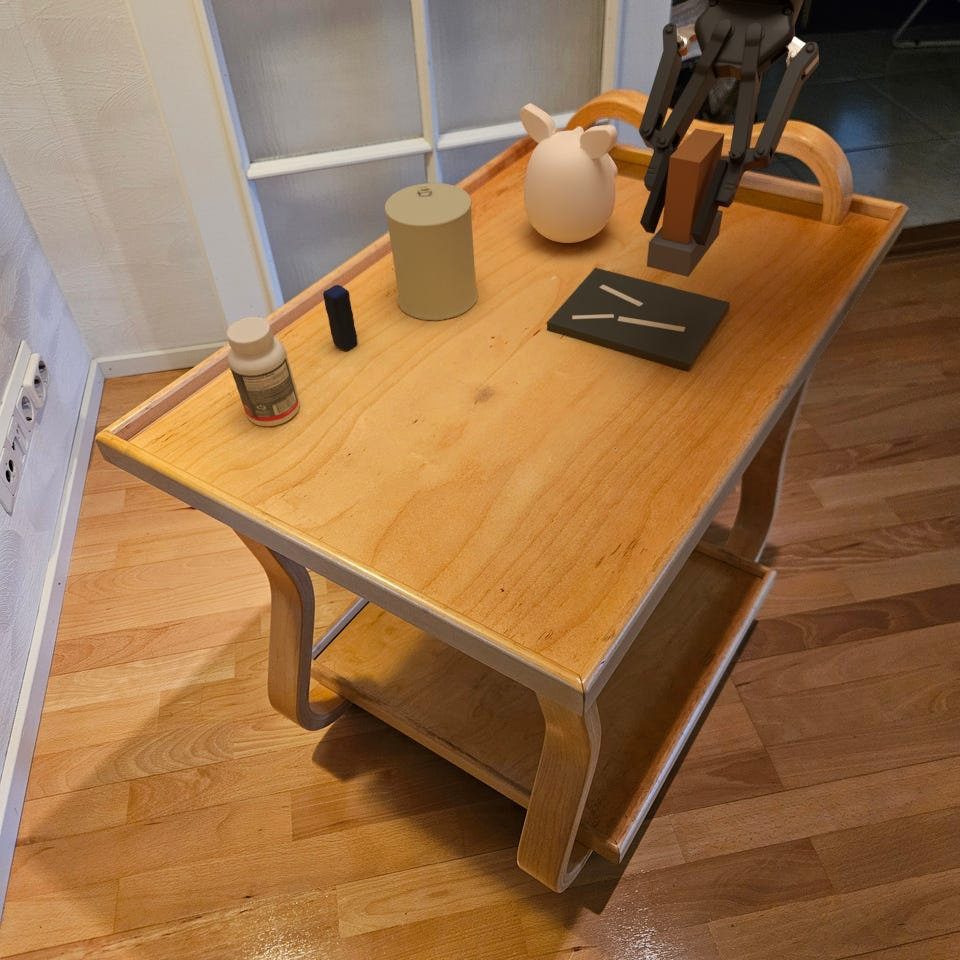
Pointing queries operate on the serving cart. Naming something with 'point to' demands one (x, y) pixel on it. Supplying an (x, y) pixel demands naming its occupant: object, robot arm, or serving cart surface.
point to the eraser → (340, 317)
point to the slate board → (640, 318)
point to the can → (432, 250)
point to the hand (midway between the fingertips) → (672, 233)
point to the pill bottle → (261, 372)
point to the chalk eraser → (686, 204)
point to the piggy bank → (568, 178)
